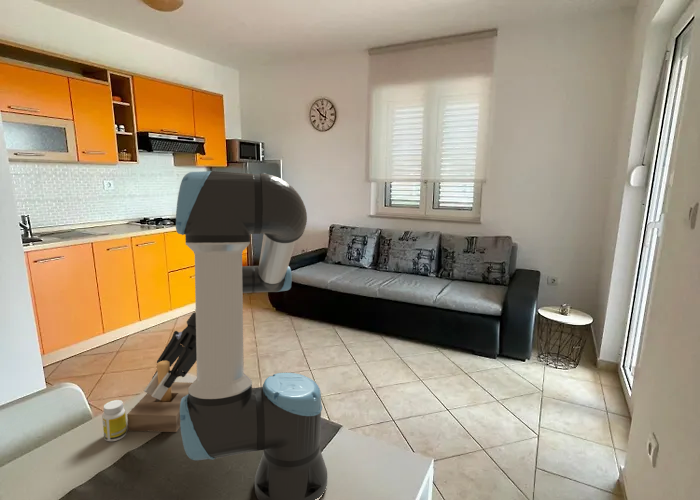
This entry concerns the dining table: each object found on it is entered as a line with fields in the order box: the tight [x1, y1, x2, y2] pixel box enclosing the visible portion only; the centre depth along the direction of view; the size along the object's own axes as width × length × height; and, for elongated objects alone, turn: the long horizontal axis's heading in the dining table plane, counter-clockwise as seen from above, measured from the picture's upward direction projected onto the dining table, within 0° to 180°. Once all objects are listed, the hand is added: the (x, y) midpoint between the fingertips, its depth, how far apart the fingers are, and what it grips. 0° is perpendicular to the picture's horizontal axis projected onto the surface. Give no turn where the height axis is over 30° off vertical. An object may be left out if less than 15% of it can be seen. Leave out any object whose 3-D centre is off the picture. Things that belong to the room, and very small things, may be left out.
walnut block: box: [126, 381, 193, 433], centre depth 104 cm, size 16×12×4 cm
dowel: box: [156, 360, 172, 402], centre depth 103 cm, size 3×3×12 cm
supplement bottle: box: [102, 399, 128, 442], centre depth 93 cm, size 5×5×8 cm
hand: (152, 395), depth 100 cm, fingers closed on dowel, 3 cm apart
